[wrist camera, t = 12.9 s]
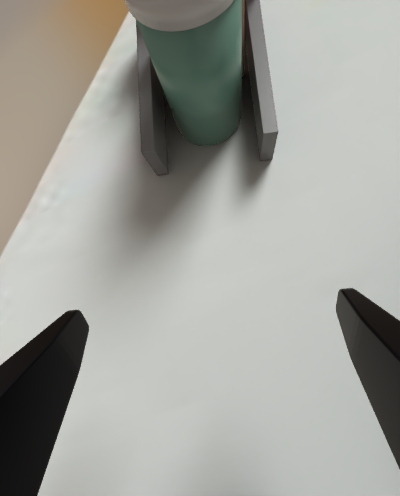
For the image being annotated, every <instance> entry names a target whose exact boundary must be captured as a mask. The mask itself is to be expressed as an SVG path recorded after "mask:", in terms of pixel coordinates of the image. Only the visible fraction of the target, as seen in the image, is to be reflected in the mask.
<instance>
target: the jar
mask: <svg viewBox="0 0 400 496" xmlns="http://www.w3.org/2000/svg"><path fill="white" fill-rule="evenodd" d="M124 1H125V3H126V5H127V7H128V10H129V11H130V13H131V14H132V15H133V17H134V18H135V19H136V21H137V24H138V26H139V29H140V32H141V34H142V37H143V39H144V42H145V45H146V47H147V50H148V52H149V55H150V58H151V60H152V63H153V66H154V68H155V71H156V73H157V76H158V79H159V81H160V84H161V86H162V89H163V92H164V94H165V97H166V100H167V102H168V105H169V107H170V110H171V113H172V115H173V118H174V120H175V123H176V126H177V128H178V130H179V132H180V134H181V135H182V136H183V137H184V138H185V139H186V140H188V141H189V142H191V143H193V144H196V145H202V146H209V145H215V144H218V143H221V142H223V141H225V140H226V139H228V138H229V137H230V136H231V135H232V134H233V133H234V132H235V131H236V129H237V128H238V126H239V124H240V121H241V117H242V0H124Z"/></svg>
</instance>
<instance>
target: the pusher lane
mask: <svg viewBox="0 0 400 496" xmlns="http://www.w3.org/2000/svg"><path fill="white" fill-rule="evenodd" d="M136 28H137V54H138V79H139V104H140V130H141V153H142V154H143V155H144V157H145V158H146V160H147V161H148V163H149V164H150V166H151V167H152V168H153V170H154V171H155V173H156V174H157V175H163V174H168V161H167V144H166V127H165V110H164V93H163V89H162V86H161V84H160V81H159V79H158V76H157V73H156V71H155V68H154V66H153V63H152V60H151V58H150V55H149V52H148V50H147V47H146V45H145V42H144V39H143V37H142V34H141V32H140V29H139V26H138V24H137V21H136ZM244 42H245V45H246V53H247V61H248V69H249V77H250V85H251V92H252V100H253V108H254V116H255V124H256V132H257V140H258V148H259V156H260V161H263V160H270V159H272V158H273V153H274V148H275V144H276V139H277V134H278V127H277V120H276V113H275V106H274V99H273V92H272V85H271V78H270V71H269V64H268V57H267V50H266V43H265V36H264V29H263V22H262V15H261V8H260V1H259V0H245V11H244Z"/></svg>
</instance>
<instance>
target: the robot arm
mask: <svg viewBox="0 0 400 496" xmlns="http://www.w3.org/2000/svg"><path fill="white" fill-rule="evenodd" d="M336 312H337V316H338V319H339V322H340V326H341V329H342V332H343V335H344V339H345V342H346V345H347V348H348V351H349V354H350V357H351V360H352V362H353V365H354V367H355V369H356V372H357V374H358V376H359V378H360V381H361V383H362V385H363V387H364V390H365V392H366V394H367V396H368V399H369V401H370V403H371V405H372V408H373V410H374V412H375V415H376V417H377V419H378V421H379V424H380V426H381V428H382V430H383V433H384V435H385V437H386V439H387V442H388V444H389V446H390V448H391V451H392V453H393V455H394V458H395V460H396V462H397V464H398V467H399V469H400V321H399V320H398V319H396V318H395V317H394V316H392V315H391V314H389V313H388V312H386V311H385V310H384V309H382V308H381V307H379V306H378V305H377V304H375V303H374V302H372V301H371V300H369V299H368V298H367V297H365V296H364V295H362V294H361V293H360V292H358V291H357V290H355V289H353V288H347V289H340V290H339V292H338V298H337V304H336ZM88 332H89V326H88V323H87V321H86V320H85V318H84V316H83V314H82V313H81V311H79V310H70V311H67V312H65V313H64V314H63V315H62V316H61V317H59V318H58V319H57V320H56V321H54V322H53V323H52V324H51V325H49V326H48V327H47V328H46V329H45V330H43V331H42V332H41V333H40V334H38V335H37V336H36V337H35V338H34V339H32V340H31V341H30V342H29V343H27V344H26V345H25V346H24V347H22V348H21V349H20V350H19V351H18V352H16V353H15V354H14V355H13V356H11V357H10V358H9V359H8V360H7V361H5V362H4V363H3V364H2V365H0V496H37V495H38V492H39V489H40V486H41V483H42V480H43V477H44V474H45V471H46V468H47V465H48V462H49V459H50V456H51V453H52V451H53V448H54V445H55V442H56V439H57V436H58V433H59V430H60V427H61V424H62V421H63V418H64V415H65V412H66V409H67V406H68V403H69V400H70V397H71V395H72V392H73V389H74V386H75V383H76V380H77V377H78V374H79V370H80V367H81V363H82V358H83V354H84V349H85V345H86V341H87V336H88Z"/></svg>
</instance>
